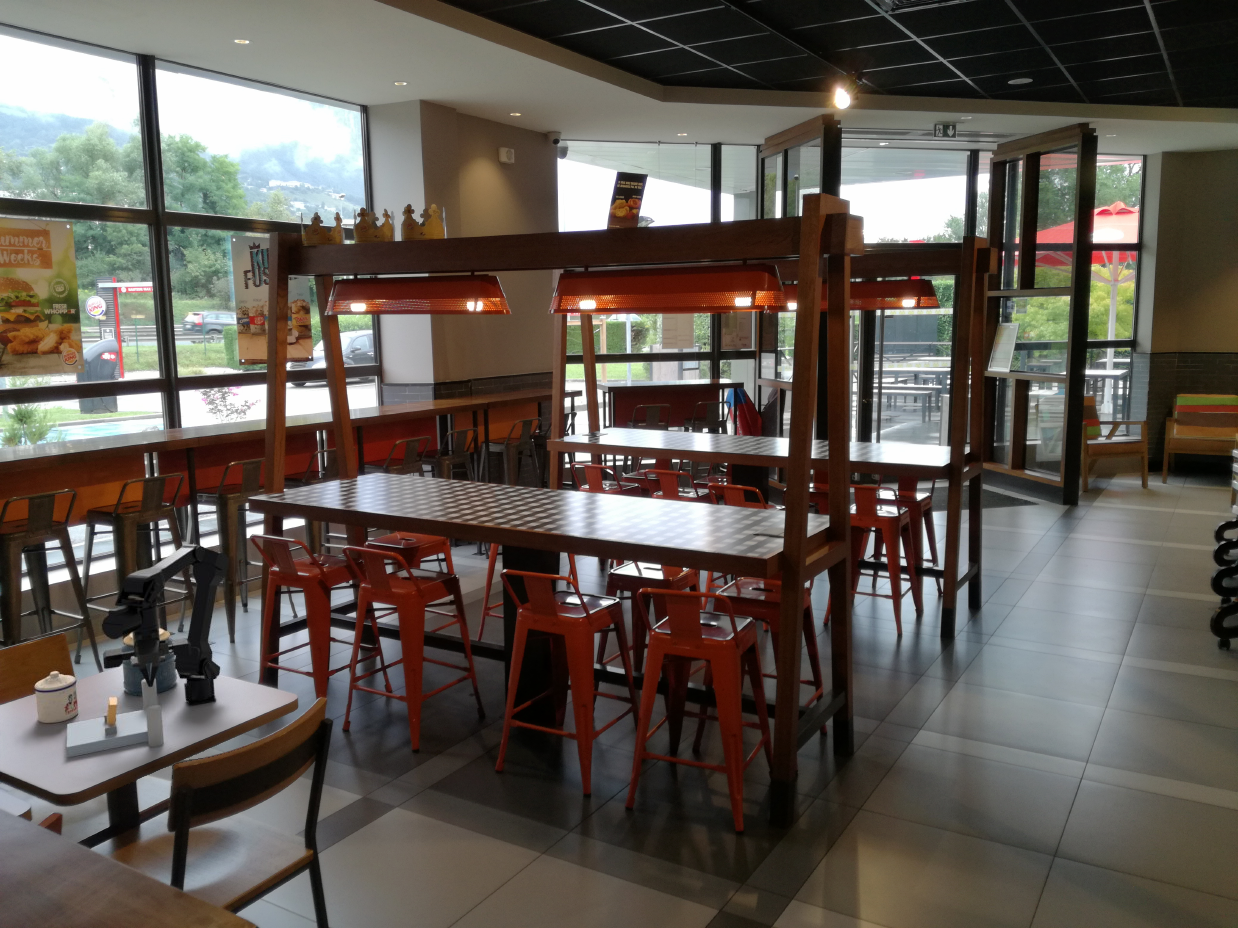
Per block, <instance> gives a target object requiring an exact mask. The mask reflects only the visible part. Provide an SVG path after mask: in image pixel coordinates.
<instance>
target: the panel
mask: <svg viewBox="0 0 1238 928" xmlns="http://www.w3.org/2000/svg"><path fill="white" fill-rule="evenodd" d="M66 726H67V727H66V731H67V732H66V757H67V758H72V757H76V756H82V755H86V754H91V753H96V752H101V751H106V750H111V749H116V748H121V747H126V746H131V745H136V744H141V743H145V742H146V743H147V742H148V731H147V719H146V709H145V710H144V709H139V710H134V711H130V712H124V713H119V714H116V720H115V724H107V712H104V713H103V716H102V717H96V718H92V719H87V720H81V721H75V722H70V723H67V725H66Z"/></svg>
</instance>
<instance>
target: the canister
mask: <svg viewBox="0 0 1238 928" xmlns="http://www.w3.org/2000/svg"><path fill="white" fill-rule="evenodd" d="M159 634H160V640H168V645H172V640H174V639H173V638H170V637H171V633H170V632H169V631H167V630H165V629H163V628H160V627H159ZM123 643H124V644H123V645H122V646H121V647H120V648H121V650H122V653H123V652H129V651H134V646H133V633H132V632H131V633H129V634H128V635H127V636H125V637H124V638H123ZM175 658H176V656H175V655H174V652H173V653H169V654H167V655H165V659H166V661H165V662H163V663H161V664H160V666H159V668H158V670H157V672H156V676H155V679H156V690H157V694H159V693H162V692H166V691H168V690H170V689H172V688H173V687H174V686H176V685H177V679H178V676H177V675H178V672H177V670H176V669H175V662H174V660H175ZM121 665H122V673H123V683H122V684H123V688H124V691H125V693H126V694H128V695H131V696H143V695H142V683H141V681H142V680H144V679H145V678H144V676H143V674H142V673H141V671H140V670H139V669H138V668H137V667H132V665H131V659H130V660H124V661H123V663H122V664H121ZM146 666H147V670H148V674H149V678H150V666H151V663H149V664H146Z"/></svg>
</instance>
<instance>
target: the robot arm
mask: <svg viewBox="0 0 1238 928" xmlns="http://www.w3.org/2000/svg"><path fill="white" fill-rule="evenodd" d="M229 565H230V561H229V558H228V557H227V555H226V553H224V552H222V551H221V552H218V551H214V550H213V549H208V548H206V547H204V546H203V545H200V544H191V543H185V544H183V545H181V546H180V547H179V549H177V550H176V551H174V552H172V553H171V554H169V555H168V556H166V557H165V558H164V559H162V560H161V561H159V562H158V563H156V564H154V565H153V566H151V567H149V568H145V569H140V570H137V571H134V572H132V573H129V574H128V575H127V576H126V577H125V579H124V581H123V584H122V585H121V588H120V591H119V594H118V595H117V598H116V601H115V602H114V606H116V608H112V609H109V610H108V612H107V613H108V615H107V616H105V617H104V619H103V620H102V622H101V629H102V632H103V634H104V635H105V636H106V637H107V638H109V639H111V640H117V639H120V638H122V637H124V636H126V635H127V636H128V635H129V634H131V633H133V646H134V651H129V652H123V653H122V650H121V647H120V648H115V649H108V650H105V651H103V653H102V661H103V669H107V670H108V669H113V668H119V667H121V666H122V665H123V664H122V663H123V661H124V660H130V659H131V665H132V667H137V668H138V669H139V670H140V671H141V673H142V674H143V676H144V678H145V680H146V682H147V684H148V687H152V686H153V683H154V679H155V676H156V672H157V670H158V668H159V666H160V664H161V663H163V662H165V661H166V659H165V655H167V654H169V653H173V652H174V655H175V660H174V662H175V669H176V673H177V675H178V677H179V679H180V680H183V679H184V680H185V681H186V682H185V683H184V684H183V685H184V698H185V702H188V706H195V705H200V704H201V705H202V704H204V703H210V702H215V700H216V701H217V698H216V694H215V682H214V681H215V680H217V678H218V677H219V676H220V672H221V667H220V665H218V664H217V663H216V662H214V660H213V651H212V648H211V646H210V645H211V644H210V643H209V638H210V637H209V636H210V630H211V626H212V625H211V624H212V618H213V613H214V607H215V603H216V602H215V601H216V597H217V590H218V586H219V585H220V584H221V583H222V581H223V580H224V579H225V578H226V575H227V571H228V568H229ZM189 566H191V567H192V574H191V575H192V576H193V578H194V581H195V583H196V587H195V592H194V593H195V594H194V599H193V605H192V611H191V616H190V621H189V627H188V633H187V637H183V638H178V639H173V640H172V645H168V640H160V634H159V628H160V627H159V626H160V624H159V613H158V604H160V603H162V602H163V601H164V599H163V598H162V596H159V595H160V593H161V592H163V590H164V589H165V587H166V583H167V582H168V581H170V580H171V579H173V578H174V577H175V576H177V575H178V574H179V573H181V572H182V571H184V570H185V569H187V568H188V567H189ZM149 663H151V666H150V678H149V674H148V670H147V666H146V664H149Z"/></svg>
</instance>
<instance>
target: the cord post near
mask: <svg viewBox="0 0 1238 928" xmlns="http://www.w3.org/2000/svg"><path fill="white" fill-rule="evenodd" d="M162 715H163V713H162V706H161V705H159V704H158V705H152V706H149V707H147V708H146V719H147V731H148V741H147V742H148V747H150V748H156V747H160V746H162V745H163V744H164V743H165V741H164V729H163V728H164V727H163V726H164V725H163V716H162Z"/></svg>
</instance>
